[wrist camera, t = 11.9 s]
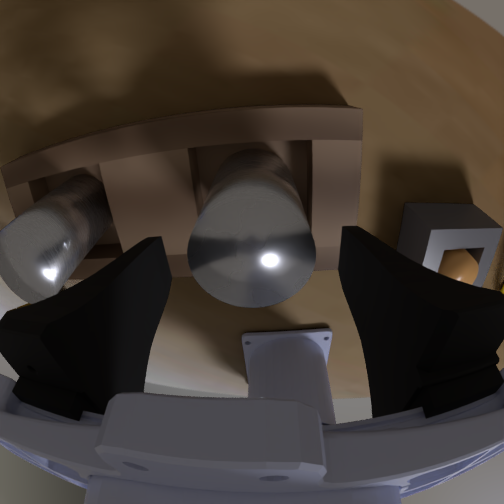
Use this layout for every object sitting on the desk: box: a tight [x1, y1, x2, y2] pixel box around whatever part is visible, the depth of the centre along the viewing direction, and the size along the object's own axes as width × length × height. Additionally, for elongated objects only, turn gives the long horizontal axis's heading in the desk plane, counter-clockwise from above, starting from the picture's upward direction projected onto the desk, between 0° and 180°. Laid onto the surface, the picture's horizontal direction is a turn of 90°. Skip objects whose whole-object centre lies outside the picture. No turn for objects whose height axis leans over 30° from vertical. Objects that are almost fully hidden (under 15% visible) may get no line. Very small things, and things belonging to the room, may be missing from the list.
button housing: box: [396, 203, 503, 287], centre depth 18 cm, size 7×7×4 cm
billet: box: [0, 174, 113, 304], centre depth 15 cm, size 5×5×8 cm
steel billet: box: [187, 149, 316, 308], centre depth 14 cm, size 5×5×8 cm
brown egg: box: [438, 249, 479, 285], centre depth 18 cm, size 3×3×4 cm
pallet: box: [1, 104, 363, 279], centre depth 17 cm, size 10×24×2 cm, turn 94°
